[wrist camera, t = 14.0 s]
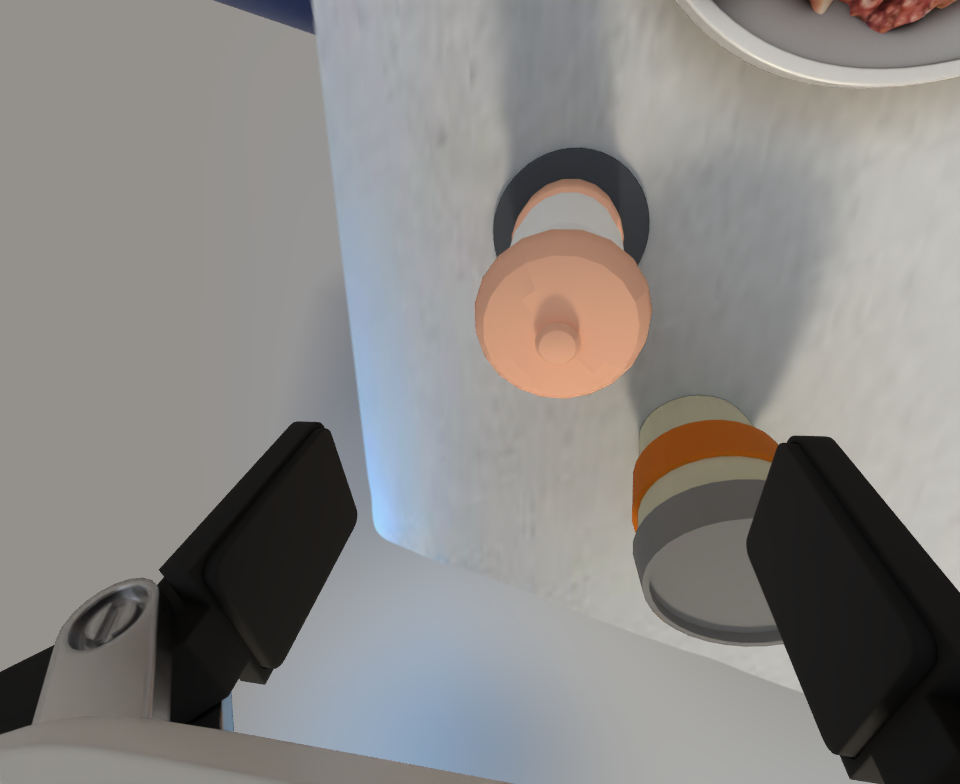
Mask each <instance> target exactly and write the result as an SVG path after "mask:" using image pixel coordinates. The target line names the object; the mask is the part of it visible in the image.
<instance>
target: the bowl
mask: <svg viewBox="0 0 960 784" xmlns="http://www.w3.org/2000/svg"><path fill="white" fill-rule="evenodd" d="M675 1H676V2H677V3H678V4H679V6H680V7H681V8H682V9H683V11H684V12H685V13H686V14H687V15H688V16H689V18H690V19H691V20H692V21H693V22H694V23H695V24H696V25H697V26H698V27H699V28H700V29H701V30H702V31H703V32H705V33H706V34H707V35H708V36H709V37H710V38H712V39H713V40H714V41H715V42H716V43H718V44H719V45H721V46H722V47H723V48H725V49H726V50H728V51H729V52H730V53H732V54H734V55H735V56H737V57H739V58H741V59H742V60H744V61H746V62H748V63H750V64H752V65H754V66H756V67H758V68H760V69H762V70H765V71H768V72H770V73H773V74H776V75H778V76H781V77H785V78H788V79H792V80H796V81H800V82H804V83H809V84H815V85H820V86H829V87H839V88H885V87H897V86H906V85H915V84H923V83H929V82H935V81H941V80H946V79H951V78H955V77H960V0H675Z"/></svg>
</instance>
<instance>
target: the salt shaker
mask: <svg viewBox="0 0 960 784" xmlns="http://www.w3.org/2000/svg"><path fill="white" fill-rule="evenodd" d="M623 240H624V234H623V228H622V223H621V218H620V216H619V214H618V212H617V210H616V208H615V206H614V204H613V203H612V201H611V199H610V197H609V195H607V194H606V193H605V192H604V191H603V190H601V189H600V188H599V187H598V186H597V185H595V184H593V183H590V182H587V181H584V180H581V179H561V180H558V181H556V182H553V183H550V184H547V185H545V186H544V187H543V188H541V189H540V190H539V191H538V192H536V193H535V194H534V195H532V197H531V198H530V200H529V201H528V202H527V204H526V205H525V207H524V208H523V210H522V211H521V213H520V214H519V216H518V218H517V221H516V224H515V227H514V230H513V233H512V242H511V245H510V248H508V249H507V250H505V251H504V252H503V253H501V254H500V255H499V256H498V257H497V258H496V260H495V261H494V263H493V264H492V265H491V267H490V268H489V270H488V271H487V272H486V274H485V275H484V277H483V278H482V281H481V285H480V288H479V291H478V294H477V298H476V301H475V322H476V333H477V336H478V339H479V342H480V344H481V347H482V350H483V353H484V355H485V357H486V358H487V360H488V361H489V362H490V363H491V365H492V366H493V367H494V369H495V370H496V371H497V372H498V374H499V375H500V376H502V377H503V378H505V379H506V380H507V381H509V382H510V383H512V384H513V385H514V386H516V387H517V388H519V389H521V390H524V391H527V392H530V393H533V394H535V395H538V396H541V397H552V398H565V399H566V398H572V397H577V396H582V395H588V394H591V393H593V392H596V391H598V390H600V389H602V388H604V387H606V386H608V385H610V384H612V383H614V382H615V381H616V380H617V379H618V378H619V377H620V376H621V375H622V374H623V373H625V372H626V371H627V370H628V369H629V368H630V367H631V366H632V365H633V363H634V361H635V360H636V358H637V356H638V355H639V353H640V351H641V349H642V348H643V346H644V344H645V342H646V339H647V335H648V330H649V325H650V320H651V315H652V305H651V299H650V293H649V287H648V283H647V281H646V279H645V277H644V276H643V274H642V272H641V271H640V269H639V267H638V265H637V264H636V262H635V260H634V259H633V258H632V257H631V256H630V255H629V254H627V253H626V252H625V251H624V248H623Z"/></svg>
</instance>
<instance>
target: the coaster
mask: <svg viewBox="0 0 960 784" xmlns="http://www.w3.org/2000/svg"><path fill="white" fill-rule="evenodd" d="M561 179H581V180H584V181H587V182H590V183H593V184H595V185H597V186H598V187H599V188H600V189H601V190H603V191H604V192H605V193H606V194H607V195H609V197H610V199H611V201H612V203H613V204H614V206H615V208H616V210H617V212H618V214H619V216H620V218H621V223H622V228H623V234H624V240H623V248H624V251H625V252H626V253H627V254H629V255H630V256H631V257H632V258H633V259H634V260H635V262H636V264H637V265H638V263H639V262H640V259H641V257H642V255H643V253H644V250H645V247H646V243H647V239H648V233H649V212H648V206H647V202H646V198H645V196H644V193H643V191H642V188H641V186H640V185H639V183H638V181H637V180H636V178H635V177H634V176H633V174H632V173H631V172H630V171H629V170H628V169H627V168H626V167H625V166H624V165H623V164H622V163H620V162H619V161H617V160H616V159H614V158H613V157H611V156H609V155H607V154H605V153H603V152H599V151H596V150H592V149H586V148H567V149H561V150H557V151H554V152H550V153H548V154H545V155H543V156H541V157H539V158H537V159H536V160H534V161H533V162H531V163H530V164H528V165H527V166H526V167H525V168H523V169H522V170H521V171H520V172H519V173H518V174H517V175H516V176H515V177H514V179H513V180H512V181H511V182H510V184H509V185H508V187H507V188H506V190H505V192H504V194H503V196H502V197H501V200H500V202H499V205H498V208H497V211H496V215H495V220H494V229H493V234H494V246H495V251H496V255H497V257H498V256H499V255H500V254H501V253H503V252H504V251H505V250H507V249H508V248H510V245H511V242H512V233H513V230H514V227H515V224H516V221H517V218H518V216H519V214H520V213H521V211H522V210H523V208H524V207H525V205H526V204H527V202H528V201H529V200H530V198H531V197H532V195H534V194H535V193H536V192H538V191H539V190H540V189H541V188H543V187H544V186H545V185H547V184H550V183H553V182H556V181H558V180H561Z"/></svg>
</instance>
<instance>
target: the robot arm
mask: <svg viewBox="0 0 960 784" xmlns="http://www.w3.org/2000/svg"><path fill="white" fill-rule="evenodd" d="M356 521H357V509H356V506H355V504H354V500H353V497H352V494H351V491H350V488H349V485H348V483H347V479H346V476H345V473H344V471H343V467H342V464H341V461H340V458H339V455H338V452H337V450H336V447H335V443H334V441H333V437H332V435H331V432H330V431H329V430H328V429H325V428H324V426H323V425H322V424H321V423H319V422H294V423H292V424H291V425H290V426H289V427H288V428H287V429H286V431H285V432H284V433H283V434H282V435H281V436H280V437H279V438H278V439H277V440H276V441H275V443H274V444H273V445H272V446H271V447H270V448H269V449H268V450H267V451H266V452H265V454H264V455H263V456H262V457H261V458H260V459H259V460H258V461H257V462H256V463H255V465H254V466H253V467H252V468H251V469H250V470H249V471H248V472H247V473H246V474H245V476H244V477H243V478H242V479H241V480H240V481H239V482H238V483H237V485H235V487H234V488H233V489H232V490H231V491H230V492H229V493H228V494H227V495H226V497H225V498H224V499H223V500H222V501H221V502H220V503H219V504H218V505H217V506H216V507H215V509H214V510H213V511H212V512H211V513H210V514H209V515H208V516H207V517H206V518H205V520H204V521H203V522H202V523H201V524H200V525H199V526H198V527H197V529H196V530H195V531H194V532H193V533H192V534H191V535H190V536H189V537H188V538H187V539H186V540H185V542H184V543H183V544H182V545H181V546H180V547H179V548H178V549H177V550H176V551H175V553H174V554H173V555H172V556H171V557H170V558H169V559H168V560H167V561H166V563H165V564H164V565H163V566H162V567H161V568H160V569H159V571H160V572H161V573H162V575H164V578H163V579H162V580H161V581H160V582H159V584H158V585H156V584H155V583H154V582H153V581H152V580H150V579H146V578H136V579H129V580H125V581H123V582H119V583H116V584H114V585H112V586H110V587H108V588H106V589H104V590H102V591H100V592H99V593H97V594H96V595H94V596H93V597H92V598H90V599H89V600H87V601H86V602H85V603H84V604H83V605H81V606H80V607H79V608H78V609H77V610H76V611H75V612H74V613H73V614H72V615H71V616H70V617H69V619H68V620H67V621H66V622H65V624H64V625H63V626H62V628H61V630H60V633H59V634H58V636H57V639H56V641H55V645H53V646H51V647H49V648H47V649H45V650H43V651H42V652H39V653H37V654H35V655H33V656H31V657H29V658H27V659H25V660H23V661H21V662H19V663H17V664H15V665H13V666H11V667H9V668H7V669H5V670H3V671H1V672H0V784H513V783H507V782H502V781H497V780H491V779H486V778H480V777H475V776H470V775H465V774H460V773H454V772H449V771H444V770H438V769H433V768H427V767H422V766H417V765H411V764H406V763H401V762H395V761H389V760H385V759H379V758H374V757H368V756H363V755H357V754H352V753H346V752H341V751H335V750H330V749H325V748H319V747H313V746H308V745H302V744H296V743H292V742H286V741H280V740H275V739H270V738H264V737H258V736H253V735H247V734H242V733H237V732H234V723H233V710H232V695H231V691H232V689H233V688H234V686H235V684H236V682H237V680H238V679H240V680H241V681H245V682H252V683H258V684H266V682H267V680H268V678H269V676H270V674H271V673H272V671H273V669H276V668H277V667H279V666H280V665H281V664H282V663H283V661H284V660H285V658H286V656H287V654H288V652H289V650H290V648H291V647H292V645H293V642H294V641H295V639H296V637H297V635H298V633H299V631H300V629H301V628H302V626H303V624H304V622H305V619H306V618H307V616H308V614H309V612H310V610H311V608H312V607H313V605H314V603H315V601H316V599H317V597H318V595H319V593H320V591H321V590H322V588H323V586H324V584H325V582H326V580H327V578H328V576H329V574H330V572H331V570H332V569H333V566H334V565H335V563H336V561H337V559H338V557H339V555H340V553H341V551H342V550H343V548H344V546H345V544H346V542H347V540H348V538H349V536H350V534H351V533H352V531H353V529H354V527H355V524H356ZM746 548H747V554H748V557H749V560H750V562H751V564H752V567H753V569H754V572H755V574H756V577H757V579H758V582H759V584H760V586H761V589H762V591H763V594H764V596H765V599H766V601H767V604H768V606H769V609H770V611H771V613H772V616H773V618H774V621H775V623H776V626H777V628H778V631H779V633H780V635H781V638H782V640H783V643H784V645H785V648H786V650H787V653H788V655H789V658H790V660H791V662H792V665H793V667H794V670H795V672H796V675H797V677H798V680H799V682H800V684H801V687H802V689H803V692H804V694H805V696H806V699H807V701H808V704H809V707H810V709H811V711H812V714H813V716H814V719H815V721H816V724H817V726H818V728H819V731H820V733H821V736H822V738H823V740H824V742H825V744H826V746H827V747H828V749H829V750H830V751H831V752H832V753H833V754H836V755H840V757H841V759H842V762H843V764H844V766H845V769H846V771H847V773H848V776H849V778H850V779H852V780H858V781H865V782H871V783H877V784H960V593H959V591H958V590H957V589H956V588H955V586H954V585H953V584H952V583H951V582H950V580H949V579H948V578H947V577H946V575H945V574H944V573H943V572H942V571H941V569H940V568H939V567H938V566H937V565H936V563H935V562H934V561H933V560H932V558H931V557H930V556H929V555H928V554H927V552H926V551H925V550H924V549H923V548H922V546H921V545H920V544H919V543H918V541H917V540H916V539H915V538H914V537H913V535H912V534H911V533H910V532H909V531H908V529H907V528H906V527H905V526H904V524H903V523H902V522H901V521H900V520H899V518H898V517H897V516H896V515H895V514H894V512H893V511H892V510H891V509H890V507H889V506H888V505H887V504H886V503H885V501H884V500H883V499H882V498H881V496H880V495H879V494H878V493H877V492H876V490H875V489H874V488H873V487H872V486H871V484H870V483H869V482H868V481H867V479H866V478H865V477H864V476H863V475H862V473H861V472H860V471H859V470H858V469H857V467H856V466H855V465H854V464H853V462H852V461H851V460H850V459H849V458H848V456H847V455H846V454H845V453H844V452H843V450H842V449H841V448H840V447H839V445H838V444H837V443H836V442H835V441H834V440H833V439H832V438H830V437H824V436H792V437H790V438H789V439H788V441H787V443H780V444H779V445H778V447H777V449H776V451H775V454H774V457H773V460H772V463H771V466H770V469H769V472H768V475H767V478H766V481H765V484H764V487H763V490H762V493H761V496H760V499H759V502H758V505H757V508H756V511H755V514H754V517H753V521H752V524H751V527H750V530H749V533H748V536H747V540H746Z"/></svg>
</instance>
